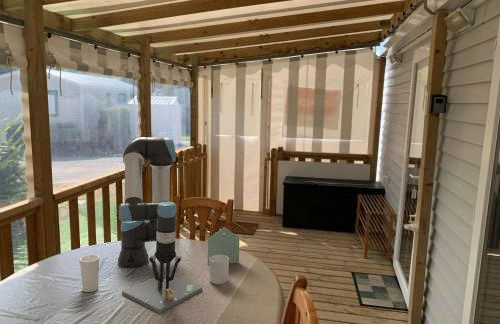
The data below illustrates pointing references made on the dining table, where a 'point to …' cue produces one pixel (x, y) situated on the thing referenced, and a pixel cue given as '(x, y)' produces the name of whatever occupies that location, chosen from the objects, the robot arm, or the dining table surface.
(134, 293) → the dial board
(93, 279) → the cup
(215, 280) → the mug
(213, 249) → the teal house-shaped block
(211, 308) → the dining table surface
